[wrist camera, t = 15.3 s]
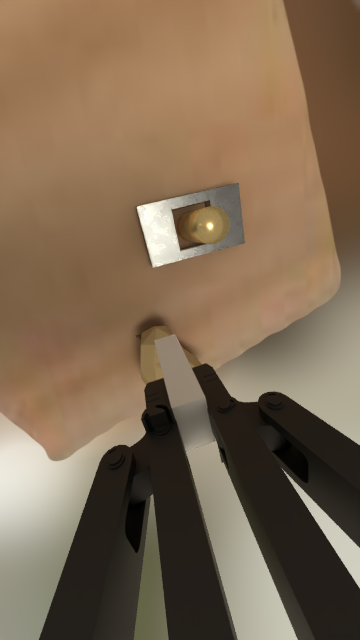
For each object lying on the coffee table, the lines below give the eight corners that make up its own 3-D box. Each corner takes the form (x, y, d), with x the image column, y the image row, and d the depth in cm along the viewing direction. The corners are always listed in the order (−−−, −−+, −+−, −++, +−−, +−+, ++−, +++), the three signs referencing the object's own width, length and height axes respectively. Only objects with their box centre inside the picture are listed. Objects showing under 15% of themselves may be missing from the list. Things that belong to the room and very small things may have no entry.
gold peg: (180, 243, 39) (199, 248, 29) (174, 215, 38) (192, 210, 28) (205, 237, 40) (231, 239, 30) (200, 209, 38) (227, 202, 28)
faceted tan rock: (191, 377, 50) (225, 350, 43) (175, 423, 42) (214, 399, 35) (133, 337, 48) (159, 302, 41) (105, 376, 40) (131, 340, 33)
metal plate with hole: (151, 265, 40) (153, 267, 37) (135, 208, 36) (136, 206, 34) (238, 242, 41) (244, 242, 39) (231, 185, 38) (238, 182, 36)
